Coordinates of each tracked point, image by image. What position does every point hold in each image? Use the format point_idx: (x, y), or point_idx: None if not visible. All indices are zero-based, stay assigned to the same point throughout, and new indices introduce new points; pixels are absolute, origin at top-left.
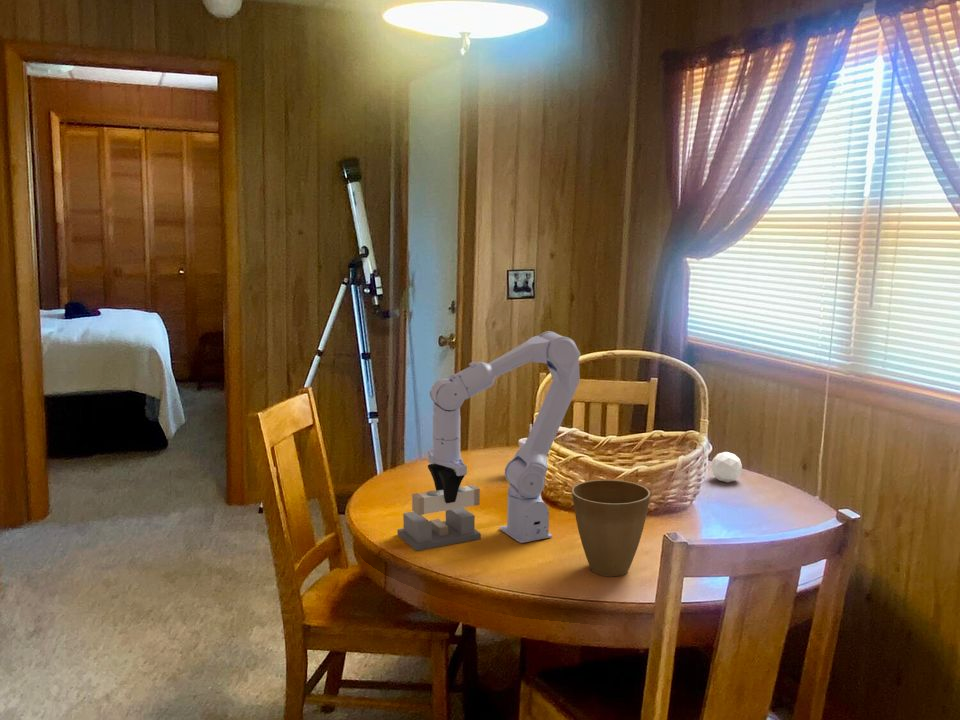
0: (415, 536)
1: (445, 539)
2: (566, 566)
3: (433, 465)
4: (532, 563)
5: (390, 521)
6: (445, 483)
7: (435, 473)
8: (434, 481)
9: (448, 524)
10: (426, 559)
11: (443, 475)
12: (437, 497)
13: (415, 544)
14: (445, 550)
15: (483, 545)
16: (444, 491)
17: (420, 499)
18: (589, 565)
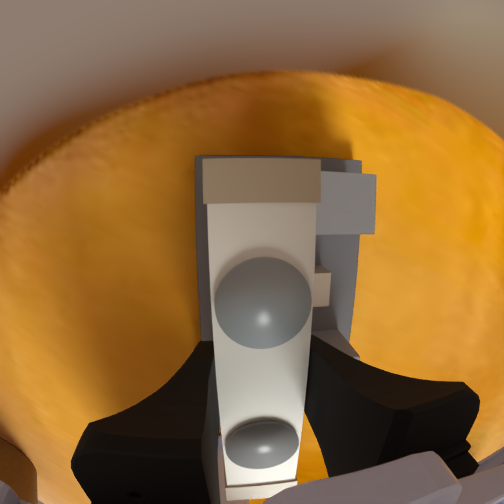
0: None
1: (200, 272)
2: (18, 426)
3: (438, 439)
4: (32, 393)
5: (445, 194)
6: (138, 405)
7: (364, 411)
8: (359, 366)
9: (318, 331)
10: (119, 164)
11: (83, 439)
12: (211, 308)
13: (203, 157)
14: (160, 249)
15: (155, 363)
16: (190, 368)
17: (204, 176)
18: (2, 444)
